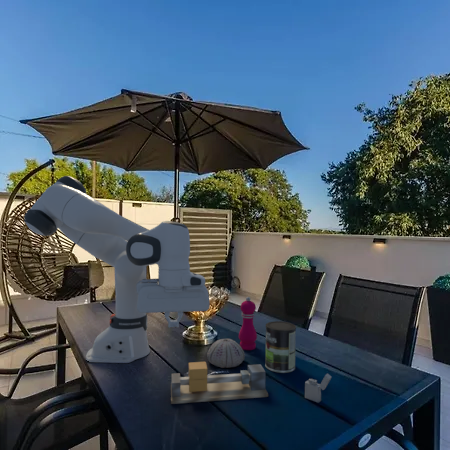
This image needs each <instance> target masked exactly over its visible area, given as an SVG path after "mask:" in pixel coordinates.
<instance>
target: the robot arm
mask: <svg viewBox="0 0 450 450" xmlns="http://www.w3.org/2000/svg"><path fill="white" fill-rule="evenodd" d="M23 220H24V221H23V222H24V223H25V224H26V226H27V228H28V229H29V230H30V231H32V232H33V233H35V234H37V235H40V236H43V237H47V236H51V235H53V234H54V233H56V232H57V231H58V230H59V231H60V232H61V233H62V234H63V235H65V237H67V239H69V240H71V242H73V244H75V245H77V246H79V247H80V248H81V249H83V250H84V251H85V252H88V253H89V254H90V256H91V255H92V256H93V257H95V258H96V259H98V260H100V261H101V262H104V263H106V264H107V265H110V266H111V267H113V268H114V287H115V289H114V290H115V313H112V314H111V315H110V316H109V326H108V327H107V328H106V329H104V330H103V331H102V332H100V333H99V334H98V335H97V336H96V337H95V339H94V342H93V346H92V348H90V349H89V350H88V351H87V352H86V355H85V361H86V360H87V361H89V362H88V363H108V364H109V363H111V364H118V363H119V364H128V363H131V362H134V361H135V360H138V359H141V358H144V357H146V356H147V355H149V354H150V353H151V349H150V345H149V341H148V334H147V333H148V331H147V329H148V314H149V313H150V314H151V313H153V314H154V313H164V317H165V319H166V321H167V322H168V324H167V325H168V329H171V328H178V329H179V328H180V321H181V319H182V318H183V315H184V313H185V312H188V313H189V312H190V313H191V312H207V311H208V310H209V309H210V305H211V304H210V297H209V296H210V294H209V290H208V288H207V287H206V278H205V277H204V275H201V274H199V273H195V272H192V271H191V267H190V266H191V265H190V261H189V260H190V259H189V258H190V254H191V239H190V238H191V237H190V232H189V228H188V226H187V225H186V224H184V223H181V222H177V221H171V220H165V221H164V220H163V221H162V222H160V223H159V224H158V225H157V226H155V227H152V228H151V229H148V228H146V227H144V226H142V225H140V224H138V223H136V222H134V221H132V220H130V219H128V218H126V217H125V216H122V215H120V214H119V213H117V212H116V211H114V210H112V209H111V208H109V207H107V206H106V205H105V204H103V203H101V202H100V201H99V200H96V198H94V197H92V196H90V195H88V194H87V189H86V188H85V186H84V185H83V183H82V182H81V181H79V180H78V179H76V178H75V177H72V176H71V175H63V176H62V177H60V178H58V179H57V180H56V182H54V183H53V184H51V186H49V187H47V189H45V190H44V191H43V193H42V194H41V196H40V197H39V198H38V199H37V200H36V201H35V203H34V204H33V205H32V207H30V208H29V209H28V210H27V212H25V214H24V216H23ZM152 265H153V266H154V265H157V267H158V269H157V270H158V275H157V277H158V278H147V266H152ZM171 313H177V318H176V319H171V318H170V314H171ZM87 361H86V362H87Z"/></svg>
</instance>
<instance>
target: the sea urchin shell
mask: <svg viewBox="0 0 450 450" xmlns="http://www.w3.org/2000/svg"><path fill="white" fill-rule="evenodd" d="M206 356H207V357H206V358H207V361H208V362H209V363H210V364H212V365H214V366H215V367H219V368H221V369H225V368H227V369H228V368H229V369H230V368H236V367H238V366H240V364H242V363H243V361H245V359H246V358H245V350H243V349H242V348H241V347H240V343H238V342H236V341H235V340H234V339H232V338H221V339H218V340H215V341H213V343H212V344H211V345H210V347H209V349H208V350H207V354H206Z"/></svg>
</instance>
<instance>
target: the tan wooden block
mask: <svg viewBox="0 0 450 450" xmlns="http://www.w3.org/2000/svg"><path fill="white" fill-rule="evenodd" d="M207 376H208V365H207V362H206V361H195V362H188V377H189V392H195V391H207Z"/></svg>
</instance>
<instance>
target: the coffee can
mask: <svg viewBox="0 0 450 450" xmlns="http://www.w3.org/2000/svg"><path fill="white" fill-rule="evenodd" d="M296 330H297V325H295V324H294V323H291V322H287V321H282V320H281V321H280V320H279V321H278V320H276V321H269V322H266V324H265V362H264V363H265V365H264V366H265V368H266V369H267V370H269V371H271V372H275V373H278V374H279V373H280V374H286V373H292V372H293V371H295V370H296Z"/></svg>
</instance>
